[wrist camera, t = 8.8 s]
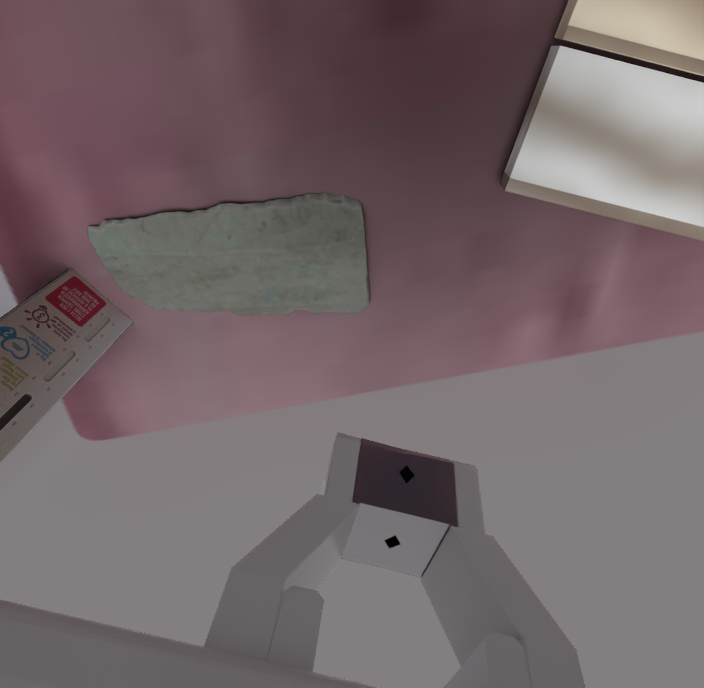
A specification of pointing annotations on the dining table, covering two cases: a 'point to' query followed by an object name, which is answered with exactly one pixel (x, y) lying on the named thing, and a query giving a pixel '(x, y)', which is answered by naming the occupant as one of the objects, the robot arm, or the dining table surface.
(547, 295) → the dining table surface
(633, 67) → the board
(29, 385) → the carton
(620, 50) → the thin beige board
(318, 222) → the stone slab
